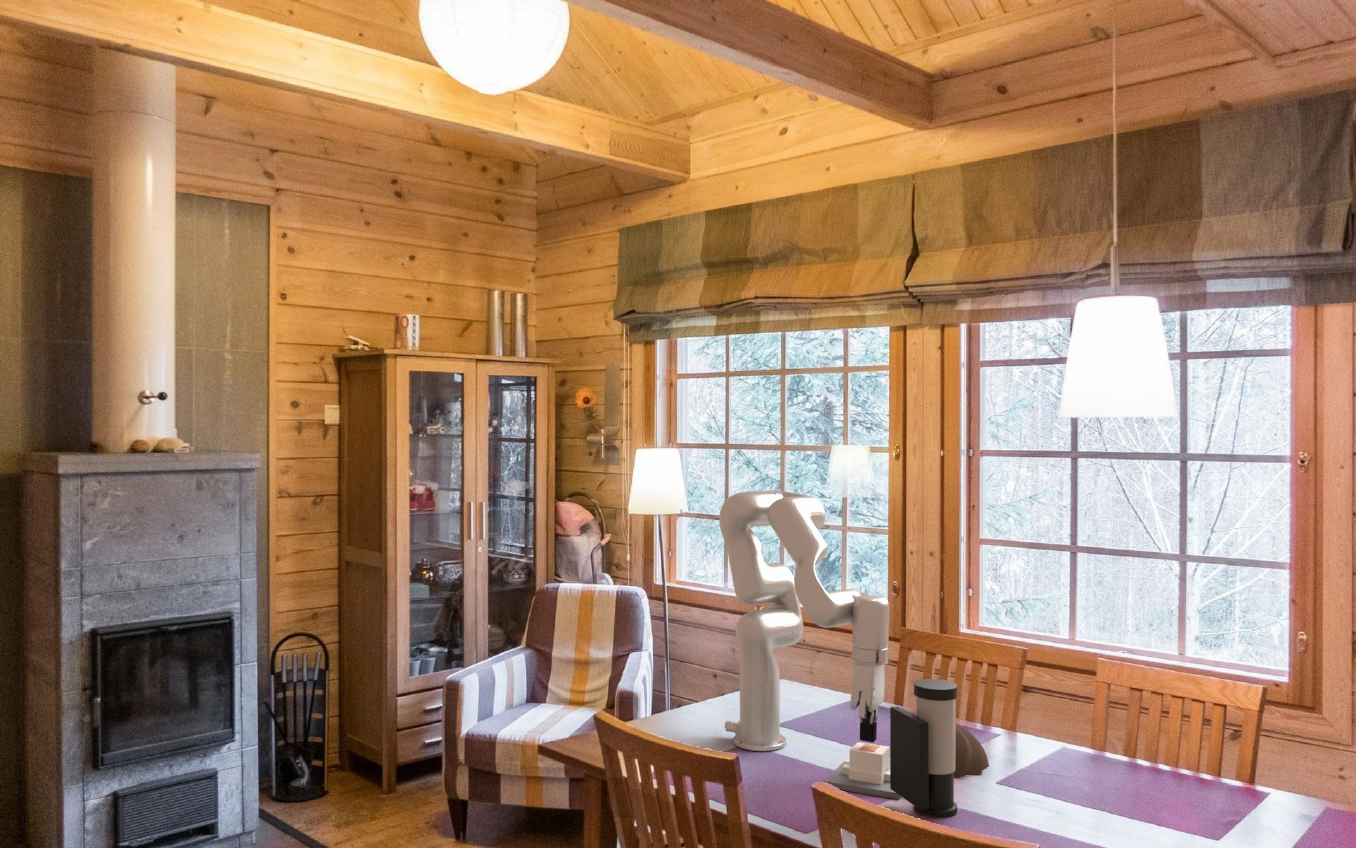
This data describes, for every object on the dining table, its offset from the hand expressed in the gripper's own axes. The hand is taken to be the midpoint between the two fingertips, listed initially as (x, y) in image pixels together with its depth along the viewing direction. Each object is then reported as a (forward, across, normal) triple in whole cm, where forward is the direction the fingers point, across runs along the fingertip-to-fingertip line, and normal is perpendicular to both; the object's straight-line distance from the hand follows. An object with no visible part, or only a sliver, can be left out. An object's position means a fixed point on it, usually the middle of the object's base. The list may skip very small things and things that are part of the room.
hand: (868, 740), depth 215 cm
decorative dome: (+9, -19, +12) cm, 24 cm away
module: (+8, 0, +1) cm, 8 cm away
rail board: (+9, 0, +1) cm, 9 cm away
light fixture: (+8, +10, +16) cm, 21 cm away
